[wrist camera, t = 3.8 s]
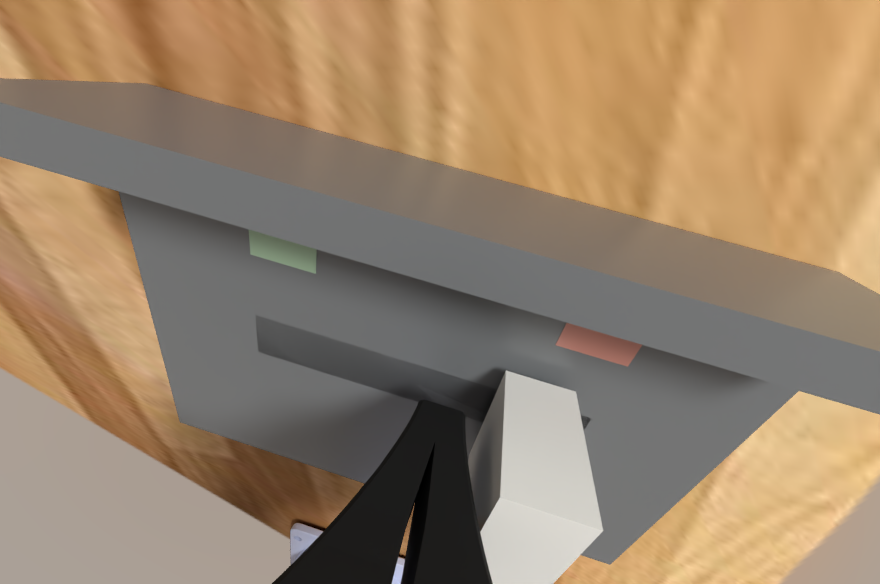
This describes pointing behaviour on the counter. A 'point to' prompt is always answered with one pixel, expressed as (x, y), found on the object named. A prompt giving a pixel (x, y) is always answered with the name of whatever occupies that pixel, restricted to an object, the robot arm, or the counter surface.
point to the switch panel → (438, 296)
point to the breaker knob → (533, 482)
